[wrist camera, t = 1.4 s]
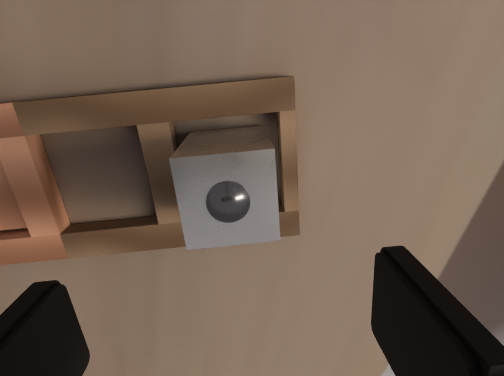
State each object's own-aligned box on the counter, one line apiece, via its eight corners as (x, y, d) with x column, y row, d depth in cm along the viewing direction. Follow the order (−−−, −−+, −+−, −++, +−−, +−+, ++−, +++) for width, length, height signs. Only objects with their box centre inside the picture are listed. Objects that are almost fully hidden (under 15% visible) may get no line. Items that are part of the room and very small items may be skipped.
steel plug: (190, 131, 21) (168, 159, 14) (262, 125, 21) (275, 149, 14) (201, 198, 22) (186, 251, 16) (267, 192, 22) (280, 241, 16)
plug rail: (-129, 115, 19) (-158, 118, 18) (289, 76, 20) (294, 76, 18) (-52, 260, 23) (-70, 272, 22) (295, 225, 24) (299, 234, 22)
